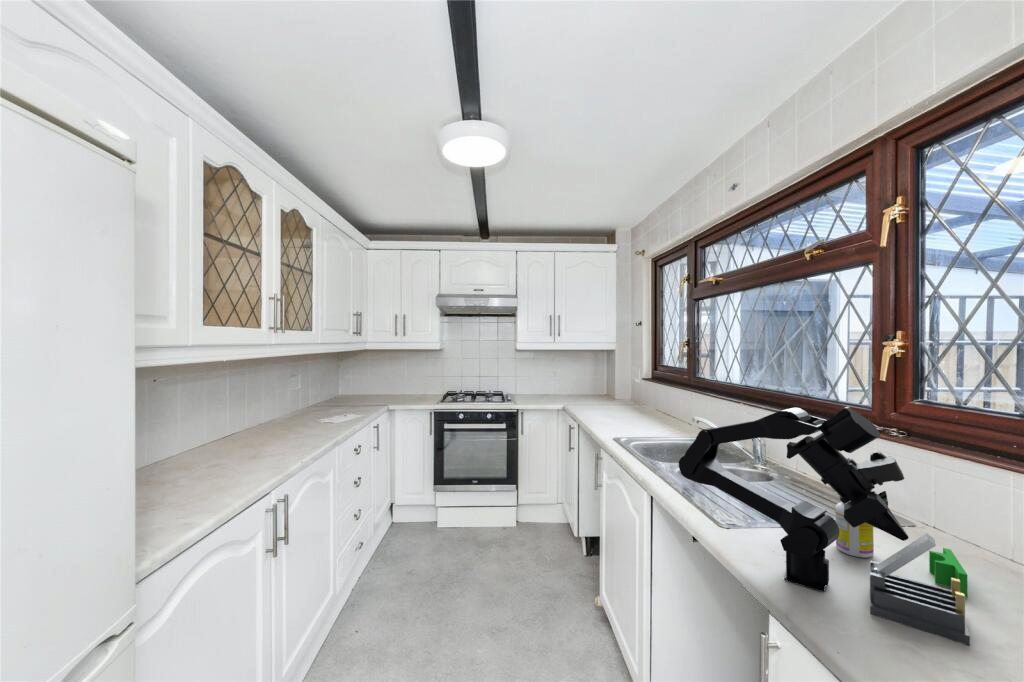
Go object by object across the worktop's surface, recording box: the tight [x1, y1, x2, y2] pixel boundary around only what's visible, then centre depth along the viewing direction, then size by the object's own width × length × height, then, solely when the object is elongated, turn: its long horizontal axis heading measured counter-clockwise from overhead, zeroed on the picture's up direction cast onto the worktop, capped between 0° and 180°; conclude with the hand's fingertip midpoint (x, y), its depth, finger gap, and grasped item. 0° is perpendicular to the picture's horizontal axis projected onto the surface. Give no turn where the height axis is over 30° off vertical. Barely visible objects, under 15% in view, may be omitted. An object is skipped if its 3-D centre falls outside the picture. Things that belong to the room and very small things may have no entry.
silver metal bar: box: [870, 533, 937, 577], centre depth 75 cm, size 12×4×2 cm
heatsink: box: [869, 560, 971, 646], centre depth 74 cm, size 12×10×7 cm
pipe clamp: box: [928, 547, 968, 599], centre depth 84 cm, size 11×4×5 cm, turn 145°
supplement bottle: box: [834, 501, 875, 559], centre depth 96 cm, size 7×7×13 cm
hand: (906, 539), depth 75 cm, fingers closed
